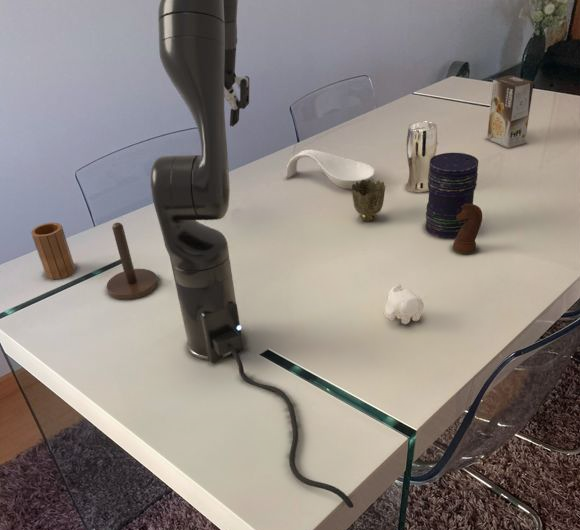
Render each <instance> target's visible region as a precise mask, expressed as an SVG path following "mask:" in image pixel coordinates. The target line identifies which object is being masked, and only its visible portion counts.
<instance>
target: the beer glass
mask: <svg viewBox="0 0 580 530" xmlns="http://www.w3.org/2000/svg"><path fill="white" fill-rule="evenodd" d="M437 147H438V124H437V123H434V122H433V121H424V120H423V121H414V122H412V123H409V124H408V126H407V135H406V156H407V164H408V179H407V184H406V189H407V190H408V191H409V192H412V193H417V194H419V193H426V192H429V188H428V173H429V168H430V159H431V158H432V157H434V156H436V155H437V154H436V153H437Z"/></svg>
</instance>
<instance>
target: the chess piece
mask: <svg viewBox="0 0 580 530" xmlns="http://www.w3.org/2000/svg"><path fill="white" fill-rule="evenodd" d="M464 204H465V205H463V206H461V208H462V209H463V210H462V212H461V213H460V214H459V215H458V216H457V217H456V219H457V221H458V222H459V221H461V220H465V219H467V221H466V222H465V223H464V224H463V226H462V227H461V229H460V231H459V232H458V235H457V236H456V238H455V240H453V245H452V250H453V252H454V253H456V254H459V255H462V256H463V255H465V256H466V255H471V254H474V253H475V252H476V251H477V242H476V239H477V236H478V235H479V234H478V233H479V231H480V228H481V226H482V222H483V211H482V208H481V207H479V206H478V205H477V204H474V203H473V204H466V203H464Z"/></svg>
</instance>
